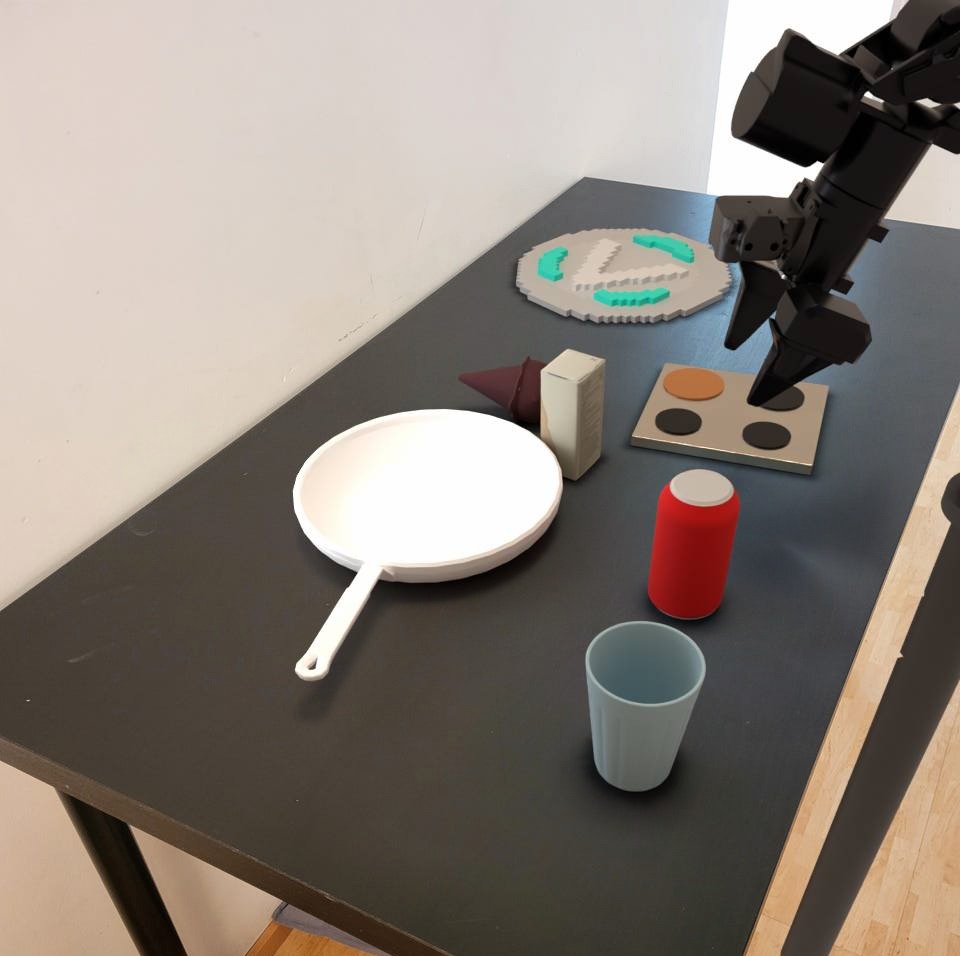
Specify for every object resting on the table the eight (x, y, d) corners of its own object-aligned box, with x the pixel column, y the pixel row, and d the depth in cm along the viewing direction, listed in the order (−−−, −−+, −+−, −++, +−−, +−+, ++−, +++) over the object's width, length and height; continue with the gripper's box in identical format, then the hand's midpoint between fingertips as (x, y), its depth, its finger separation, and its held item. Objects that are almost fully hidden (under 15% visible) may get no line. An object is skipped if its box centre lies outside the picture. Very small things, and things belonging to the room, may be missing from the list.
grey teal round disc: (475, 275, 128) (475, 263, 126) (618, 218, 140) (618, 207, 139) (627, 345, 112) (628, 332, 111) (772, 274, 124) (774, 262, 123)
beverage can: (732, 619, 78) (757, 502, 69) (661, 632, 77) (677, 515, 68) (704, 573, 82) (724, 457, 74) (636, 585, 81) (649, 469, 73)
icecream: (445, 376, 95) (588, 405, 93) (467, 327, 99) (605, 354, 96) (449, 424, 101) (583, 452, 99) (469, 376, 105) (600, 402, 102)
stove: (827, 395, 102) (829, 383, 101) (810, 475, 92) (813, 463, 91) (664, 371, 107) (665, 360, 106) (630, 445, 97) (631, 434, 96)
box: (566, 445, 97) (569, 345, 89) (602, 457, 95) (608, 357, 87) (538, 469, 94) (539, 369, 86) (574, 483, 92) (579, 381, 84)
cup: (706, 752, 68) (727, 651, 61) (652, 824, 64) (667, 725, 56) (617, 706, 71) (626, 605, 64) (560, 771, 67) (563, 671, 60)
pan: (588, 460, 95) (590, 423, 92) (469, 750, 69) (466, 712, 66) (361, 427, 101) (356, 391, 98) (172, 682, 75) (157, 644, 72)
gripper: (731, 107, 72) (637, 293, 82) (790, 197, 58) (670, 405, 69) (852, 161, 74) (747, 334, 85) (936, 258, 61) (799, 449, 71)
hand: (739, 375), depth 77 cm, fingers open, 9 cm apart
